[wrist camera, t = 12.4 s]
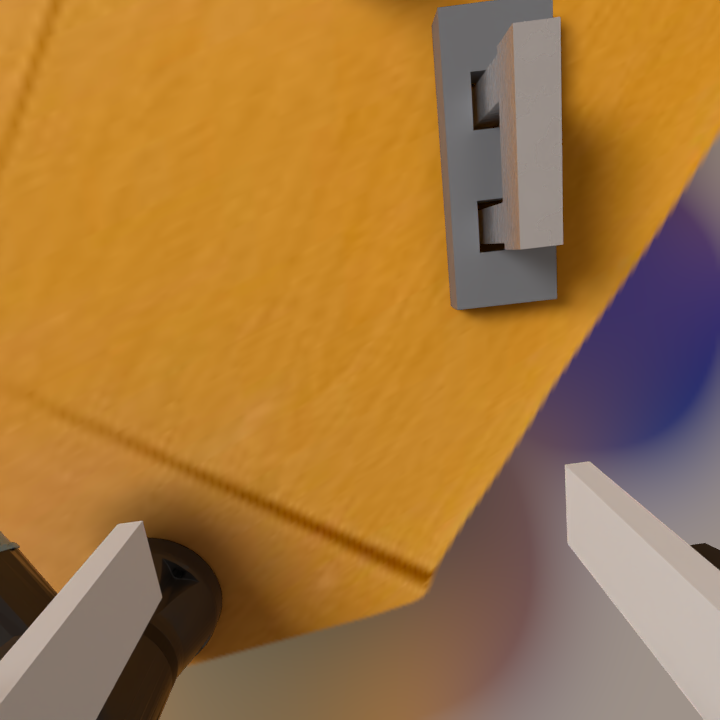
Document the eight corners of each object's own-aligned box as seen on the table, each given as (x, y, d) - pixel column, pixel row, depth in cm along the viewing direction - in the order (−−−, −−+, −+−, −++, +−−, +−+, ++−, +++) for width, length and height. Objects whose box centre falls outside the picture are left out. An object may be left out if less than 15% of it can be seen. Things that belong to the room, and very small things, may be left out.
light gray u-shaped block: (478, 249, 44) (520, 249, 32) (470, 86, 40) (512, 22, 29) (510, 246, 43) (563, 244, 32) (504, 81, 40) (560, 16, 29)
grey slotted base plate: (451, 306, 45) (457, 309, 42) (431, 25, 39) (437, 7, 36) (544, 295, 45) (556, 298, 42) (537, 12, 39) (552, -7, 36)
